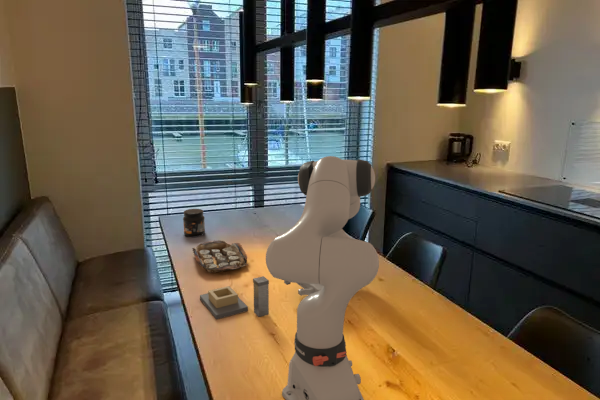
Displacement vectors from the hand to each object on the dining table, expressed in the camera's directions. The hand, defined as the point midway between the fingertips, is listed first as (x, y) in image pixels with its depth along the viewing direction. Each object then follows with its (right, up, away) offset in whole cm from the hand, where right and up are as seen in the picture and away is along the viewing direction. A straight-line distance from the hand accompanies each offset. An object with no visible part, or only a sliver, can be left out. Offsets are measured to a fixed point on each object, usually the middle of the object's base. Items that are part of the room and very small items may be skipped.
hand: (291, 287), depth 147 cm
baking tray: (-31, +3, +37) cm, 48 cm away
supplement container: (-51, +12, +73) cm, 90 cm away
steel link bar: (-10, -8, -4) cm, 13 cm away
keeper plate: (-23, -6, +1) cm, 24 cm away
